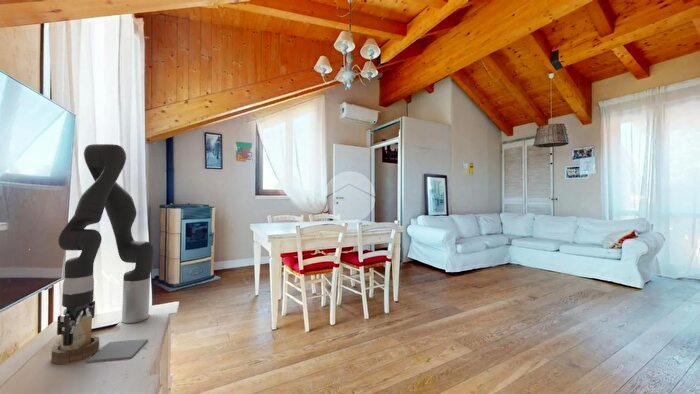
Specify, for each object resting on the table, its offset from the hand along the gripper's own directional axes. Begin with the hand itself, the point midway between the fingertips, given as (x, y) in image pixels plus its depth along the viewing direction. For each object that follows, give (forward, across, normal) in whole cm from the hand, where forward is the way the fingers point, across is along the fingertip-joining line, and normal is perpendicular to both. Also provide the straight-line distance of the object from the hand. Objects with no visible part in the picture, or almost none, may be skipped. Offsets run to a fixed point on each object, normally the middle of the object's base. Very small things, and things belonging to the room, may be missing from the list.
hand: (76, 339), depth 95 cm
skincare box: (+5, 0, 0) cm, 5 cm away
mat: (+5, 0, +12) cm, 13 cm away
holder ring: (+5, 0, 0) cm, 5 cm away
